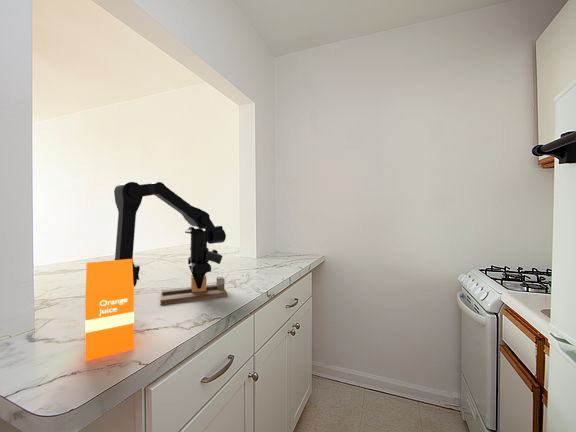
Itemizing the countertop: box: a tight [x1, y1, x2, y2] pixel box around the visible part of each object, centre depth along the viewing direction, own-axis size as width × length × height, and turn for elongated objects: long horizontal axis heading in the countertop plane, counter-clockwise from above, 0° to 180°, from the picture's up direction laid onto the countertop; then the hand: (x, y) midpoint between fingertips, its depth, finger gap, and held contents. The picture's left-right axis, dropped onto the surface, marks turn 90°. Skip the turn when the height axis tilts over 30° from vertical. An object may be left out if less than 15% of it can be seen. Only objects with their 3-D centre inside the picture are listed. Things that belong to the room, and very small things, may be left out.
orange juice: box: [84, 259, 135, 362], centre depth 60 cm, size 8×9×20 cm
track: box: [160, 276, 228, 306], centre depth 97 cm, size 12×22×6 cm, turn 115°
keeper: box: [190, 274, 207, 292], centre depth 97 cm, size 4×5×5 cm
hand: (198, 286), depth 97 cm, fingers closed on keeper, 4 cm apart
